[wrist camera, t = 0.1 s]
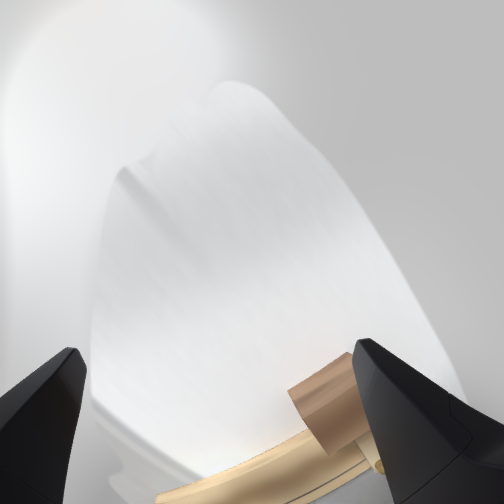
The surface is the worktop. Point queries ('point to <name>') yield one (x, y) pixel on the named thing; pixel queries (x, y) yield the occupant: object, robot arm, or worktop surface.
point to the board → (276, 476)
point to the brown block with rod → (336, 410)
